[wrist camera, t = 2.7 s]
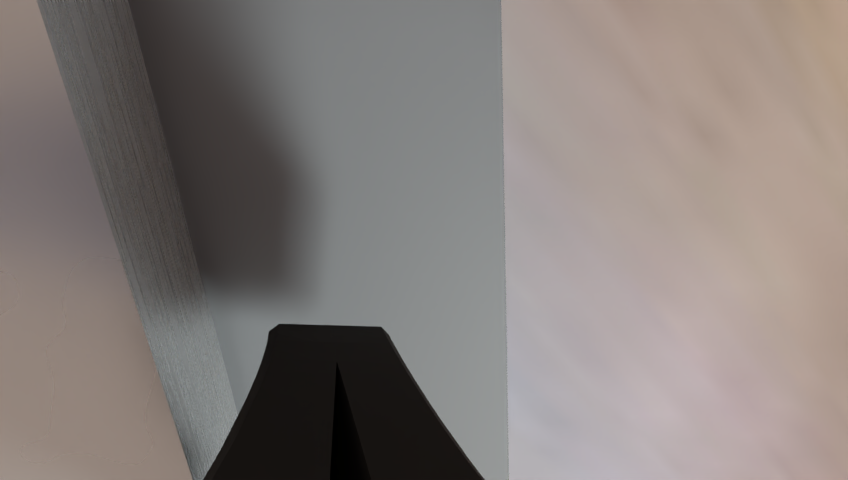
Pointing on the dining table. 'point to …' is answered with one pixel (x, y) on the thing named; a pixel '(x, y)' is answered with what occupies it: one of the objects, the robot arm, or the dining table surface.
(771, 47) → the dining table surface
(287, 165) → the grey flat slab
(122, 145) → the bar
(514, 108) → the dining table surface
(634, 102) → the dining table surface
